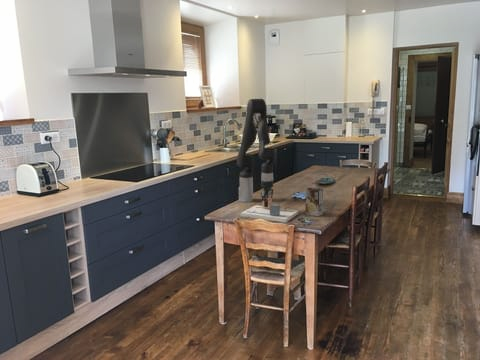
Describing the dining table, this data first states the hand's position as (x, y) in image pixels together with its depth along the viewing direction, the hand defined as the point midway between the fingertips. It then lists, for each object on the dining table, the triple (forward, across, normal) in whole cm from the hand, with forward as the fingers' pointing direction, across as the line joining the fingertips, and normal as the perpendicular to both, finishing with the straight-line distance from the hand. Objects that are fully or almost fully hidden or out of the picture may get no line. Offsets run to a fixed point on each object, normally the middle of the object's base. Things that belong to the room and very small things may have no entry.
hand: (267, 205), depth 262 cm
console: (+4, +6, +5) cm, 8 cm away
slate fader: (+1, +12, +11) cm, 16 cm away
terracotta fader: (+1, 0, 0) cm, 1 cm away
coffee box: (+4, -7, +29) cm, 30 cm away
